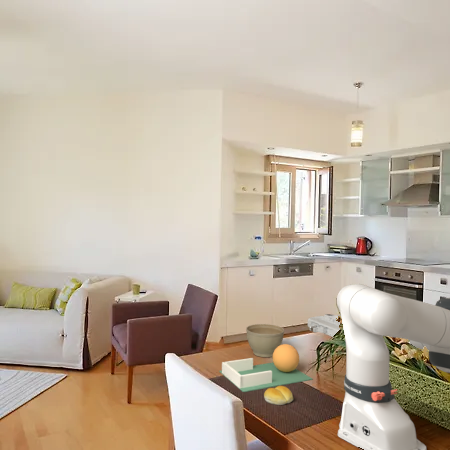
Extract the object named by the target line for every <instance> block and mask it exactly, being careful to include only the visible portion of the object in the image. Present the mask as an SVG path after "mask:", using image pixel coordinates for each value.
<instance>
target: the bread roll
mask: <svg viewBox="0 0 450 450" xmlns="http://www.w3.org/2000/svg"><path fill="white" fill-rule="evenodd" d="M263 396H264V397H263V398H264V400H265V401H266V403H269V404H271V405H276V406H281V405H282V406H283V405H286V404H290V403H291V402H293V401H294V396H293V393H292V391H291V390H290V389H289V388H288V387H287V386H286V385H280V386H275V387H269V388H266V390H265V391H264V393H263Z"/></svg>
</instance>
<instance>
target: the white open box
mask: <svg viewBox="0 0 450 450" xmlns="http://www.w3.org/2000/svg"><path fill="white" fill-rule="evenodd" d="M253 365H254V358H253V357H250V358H244V359H235V360H229V361H222V362H221V370H222V374H221V375H223V374H224V375H225V376H226V377H227V378H228V379H229V380H228V379H227V378H226V377H225V376H224V375H223V376H224V377H225V378H226V379H227V380H228V381H230V380H231V381H232V382H233V383H234V384H235V385H236V387H237V386H238V387H239V388H245V387H251V386H257V385H262V384H268V383H272V371H271V370H270V371H264V372H258V373H252V374H246V375H240V374H239V373H238V372H239V371H245V370H251V369H253ZM231 381H230V382H231ZM232 382H231V383H232ZM233 383H232V384H233ZM234 384H233V385H234ZM235 385H234V386H235ZM238 387H237V388H238ZM239 388H238V389H239Z"/></svg>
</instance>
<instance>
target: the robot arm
mask: <svg viewBox="0 0 450 450" xmlns="http://www.w3.org/2000/svg"><path fill="white" fill-rule="evenodd" d="M339 290H340V291H339V292H338V294H337V296H336V304H337V308H338V310H339V312H340V314H332V313H331V314H328V313H324V315H317V316H312V317H308V318H307V327H308V328H309V331H310V332H313V333H321V334H324V335H327V336H329V337H332V338H334V337H333V336H334V335H335V334H336V333H337V332H338V331H339V330H340V328H339V325H340V322H338V321H336V320H337V319H338V316H341V318H342V324H343V330H344V335H345V339H344V340H345V348H346V349H345V350H346V357H345V360H346V362H345V363H346V365H345V368H346V369H345V372H346V373H345V375H344V379H343V387H344V391H345V393H344V399H343V403H342V410H341V418H340V422H339V424H338V426H339V429H338V430H337V436H338V437H339V438H340V439H342V440H344V441H346V442H347V443H349V444H351V445H353V446H355V447H357V448H358V447H360V448H362V449H364V450H427V445H425V444H424V443H423V442H421V441H420V440H419V439H418V438H417V432H416V427H415V424H414V422H413V421H412V419H411V418H410V416H409V414H408V413H406V412H405V410H404V409H403V408H402V407H401V406H400V404H399V402H397V400H396V398H395V395H397V394H398V392H397V391H398V389H393V387H392V383H391V381H390V351H389V348H388V346H387V344H386V341H385V339H384V338H385V337H389V338H395V339H396V338H399V339H405V340H407V339H408V340H410V343H409V344H410V345H411V344H412V345H413V346H415V347H417V348H420V349H423V347H424V346H426V347H427V349H428V350H429V352H428V359H429V362H430V364H431V365H432V366H433V367H435V366H436V367H435V368H436V369H438V370H440V371H442V372H444V373H448V374H450V297H445V298H444V297H443V298H440V299H439V300H438V301H436V302H435V304H430V303H428V302H424V301H421V300H417V299H413V298H408V297H404V296H400V295H396V294H392V293H389V292H386V291H382V290H380V289H376V288H373V287H371V286H367V285H366V284H361V283H355V284H353V283H352V284H348V285H345V286H343V287H342V288H341V289H339ZM336 318H337V319H336ZM383 336H384V338H383ZM412 345H411V346H412ZM413 346H412V347H413ZM415 347H414V348H415ZM417 348H416V349H417ZM420 349H419V350H420ZM360 448H359V449H360ZM362 449H361V450H362Z"/></svg>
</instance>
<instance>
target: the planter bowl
mask: <svg viewBox="0 0 450 450" xmlns="http://www.w3.org/2000/svg"><path fill="white" fill-rule="evenodd" d="M245 330H246V338H247V342H248V345H249V346H250V348H251V350H252V352H253V354H254V355H255V356H256V357H261V358H273V352H274V350H275V349H276V348H277V347H278V346H280V345H282V343H283V340H284V333H285V329H284V328H283V327H282V326H279V325H275V324H269V323H267V324H266V323H257V324H250V325H248V326H246V329H245Z"/></svg>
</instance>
